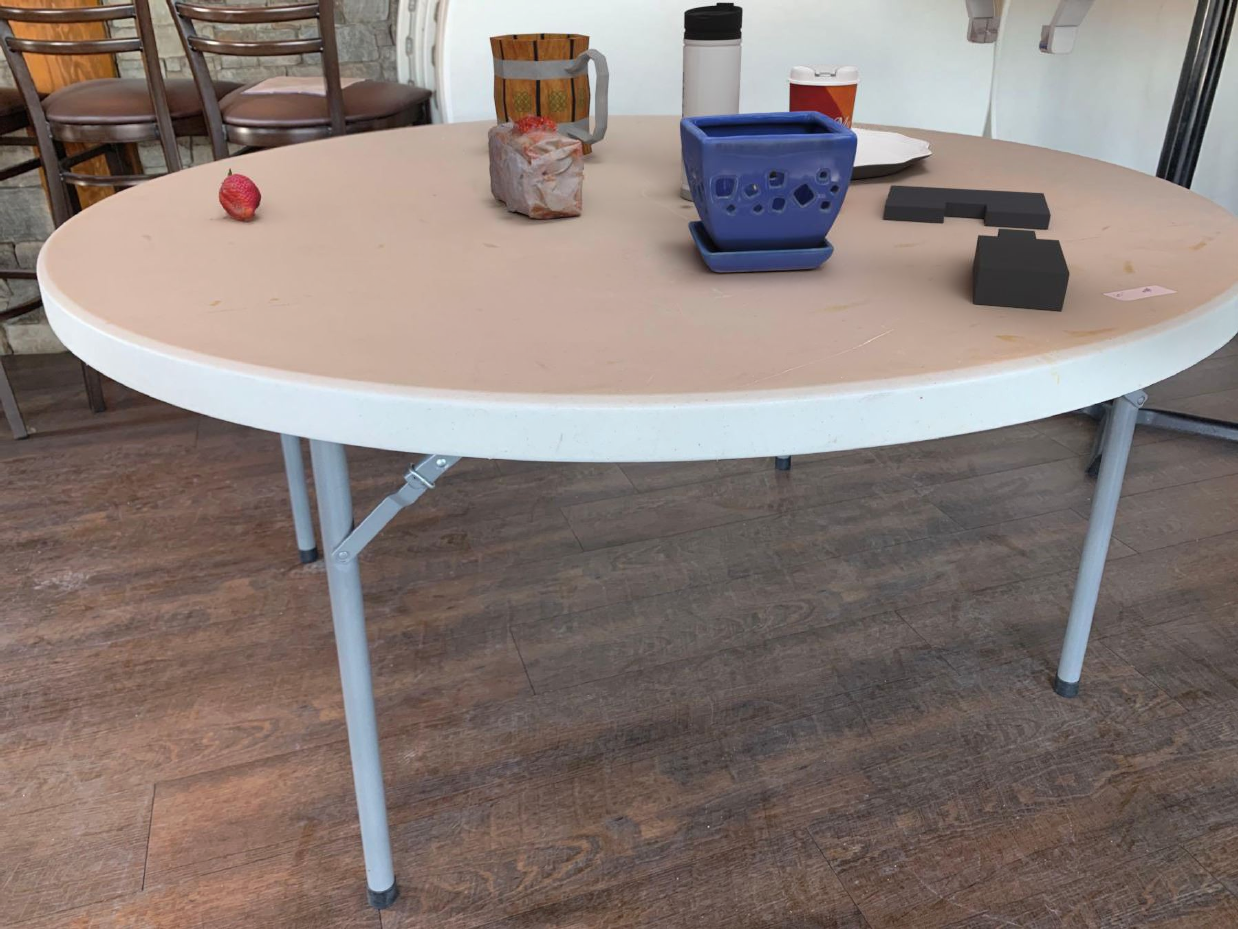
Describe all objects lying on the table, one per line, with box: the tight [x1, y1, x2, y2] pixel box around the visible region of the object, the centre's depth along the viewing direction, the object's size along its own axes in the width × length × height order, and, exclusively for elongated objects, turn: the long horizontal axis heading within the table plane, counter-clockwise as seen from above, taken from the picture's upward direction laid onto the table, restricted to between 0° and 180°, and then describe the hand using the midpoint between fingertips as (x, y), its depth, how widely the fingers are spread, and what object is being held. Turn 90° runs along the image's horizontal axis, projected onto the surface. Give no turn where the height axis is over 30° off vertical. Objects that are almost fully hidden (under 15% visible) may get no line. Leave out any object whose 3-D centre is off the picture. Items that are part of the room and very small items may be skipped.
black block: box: [972, 228, 1071, 312], centre depth 80 cm, size 6×13×3 cm, turn 162°
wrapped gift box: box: [487, 113, 586, 220], centre depth 104 cm, size 14×8×10 cm, turn 28°
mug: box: [489, 32, 610, 156], centre depth 131 cm, size 20×14×15 cm
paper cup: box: [786, 64, 862, 129], centre depth 104 cm, size 8×8×14 cm
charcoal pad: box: [882, 184, 1052, 230], centre depth 102 cm, size 16×10×2 cm, turn 72°
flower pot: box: [679, 111, 858, 273], centre depth 85 cm, size 13×13×12 cm
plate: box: [770, 127, 933, 180], centre depth 127 cm, size 29×29×2 cm
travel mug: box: [680, 2, 744, 202], centre depth 106 cm, size 6×7×20 cm
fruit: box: [218, 167, 262, 222], centre depth 103 cm, size 4×6×5 cm
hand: (1015, 47), depth 71 cm, fingers open, 8 cm apart
